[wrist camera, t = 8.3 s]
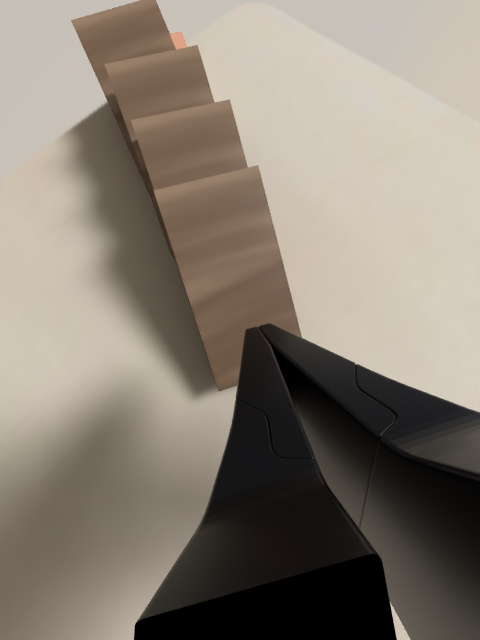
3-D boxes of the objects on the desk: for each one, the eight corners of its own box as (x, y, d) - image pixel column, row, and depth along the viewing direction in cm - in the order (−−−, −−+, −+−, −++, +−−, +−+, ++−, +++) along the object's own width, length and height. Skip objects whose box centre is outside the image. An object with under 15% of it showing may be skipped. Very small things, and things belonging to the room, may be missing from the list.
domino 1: (307, 359, 14) (258, 165, 13) (218, 391, 14) (153, 190, 12) (295, 352, 16) (250, 178, 14) (215, 380, 15) (157, 201, 13)
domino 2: (280, 290, 15) (229, 99, 13) (196, 317, 15) (130, 120, 13) (271, 289, 17) (225, 118, 15) (195, 314, 16) (137, 137, 14)
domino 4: (222, 161, 17) (154, -4, 16) (148, 189, 16) (71, 20, 15) (220, 174, 18) (158, 24, 17) (152, 200, 18) (83, 47, 17)
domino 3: (251, 229, 16) (197, 45, 14) (171, 254, 15) (104, 63, 14) (246, 234, 18) (196, 68, 16) (173, 257, 17) (113, 86, 15)
